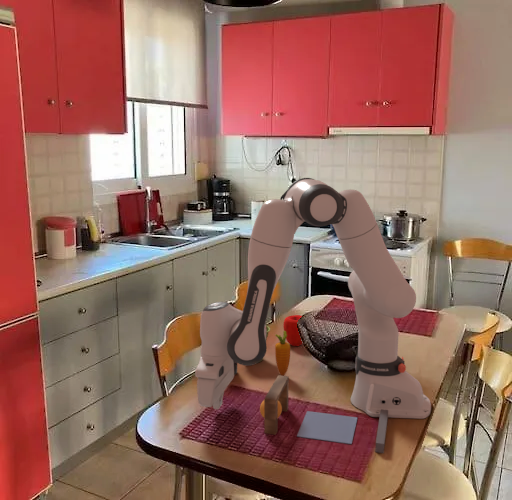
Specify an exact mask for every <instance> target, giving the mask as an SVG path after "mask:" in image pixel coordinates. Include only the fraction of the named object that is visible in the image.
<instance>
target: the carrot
mask: <svg viewBox="0 0 512 500" xmlns="http://www.w3.org/2000/svg"><path fill="white" fill-rule="evenodd" d="M275 337H276V338H277V339H278V341H279V342H276V343H275V345H274V351H275V352H274V353H275V363H276V367H277V370H278V373H279V374H280V375H281V376H286V374H287V371H288V368H289V365H290V360H291V345H290V344H289V343H288V342H287V340H286V337H287V335H286V331H284V330H283V335H282V336H281V335H280V334H275Z"/></svg>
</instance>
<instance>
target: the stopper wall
mask: <svg viewBox="0 0 512 500" xmlns="http://www.w3.org/2000/svg"><path fill="white" fill-rule="evenodd" d="M378 418H379V419H378V426H377V432H376V438H375V449H374V451H375V453H379V454H385V446H386V445H385V444H386V436H387V428H388V421H389V417H388V410H383V409H381V411H380V417H378Z"/></svg>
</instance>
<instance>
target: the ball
mask: <svg viewBox="0 0 512 500" xmlns="http://www.w3.org/2000/svg"><path fill="white" fill-rule="evenodd" d="M259 406H260V407H259V412H260V415H261V417H262V418H264V400H262V402H261V403H260V405H259ZM282 412H283V411H282V406H281V403H280V402H279V401H278V418H280V416H281V414H282Z"/></svg>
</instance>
